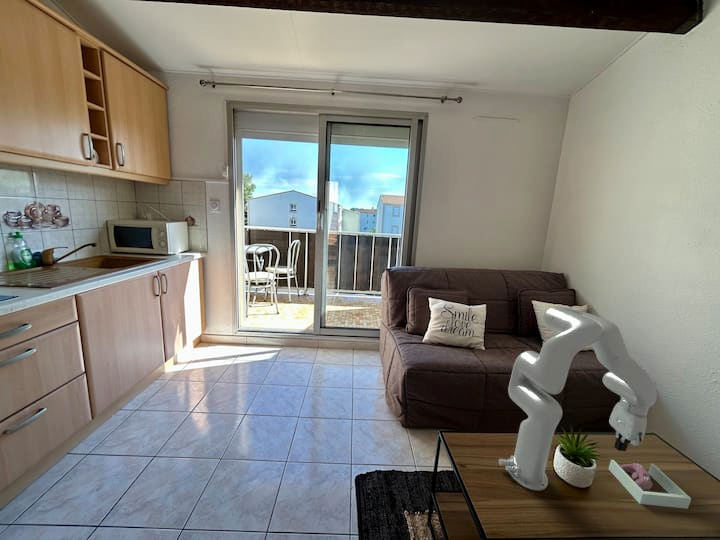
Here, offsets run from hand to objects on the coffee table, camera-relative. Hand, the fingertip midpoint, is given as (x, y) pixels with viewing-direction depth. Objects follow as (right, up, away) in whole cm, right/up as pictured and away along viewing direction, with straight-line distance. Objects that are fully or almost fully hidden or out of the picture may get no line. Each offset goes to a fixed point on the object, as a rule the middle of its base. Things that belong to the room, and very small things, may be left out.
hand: (619, 449), depth 111 cm
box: (0, -7, -10) cm, 12 cm away
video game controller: (-2, -7, -8) cm, 11 cm away
